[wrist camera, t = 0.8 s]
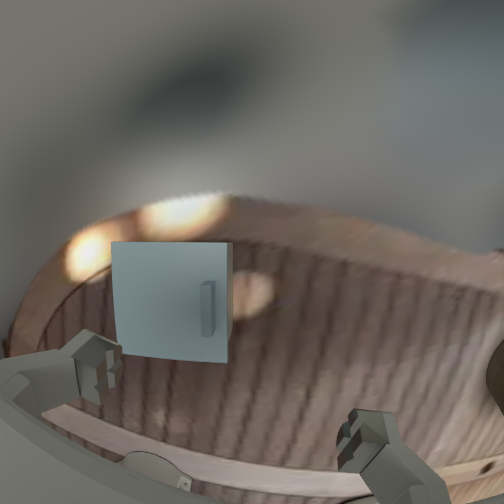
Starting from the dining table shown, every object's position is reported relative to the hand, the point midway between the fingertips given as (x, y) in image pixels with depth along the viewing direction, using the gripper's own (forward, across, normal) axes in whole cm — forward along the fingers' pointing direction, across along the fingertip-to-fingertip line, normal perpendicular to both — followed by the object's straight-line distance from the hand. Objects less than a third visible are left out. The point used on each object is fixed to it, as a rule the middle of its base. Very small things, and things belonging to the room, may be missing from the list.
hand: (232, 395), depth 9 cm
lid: (+25, -11, -12) cm, 30 cm away
